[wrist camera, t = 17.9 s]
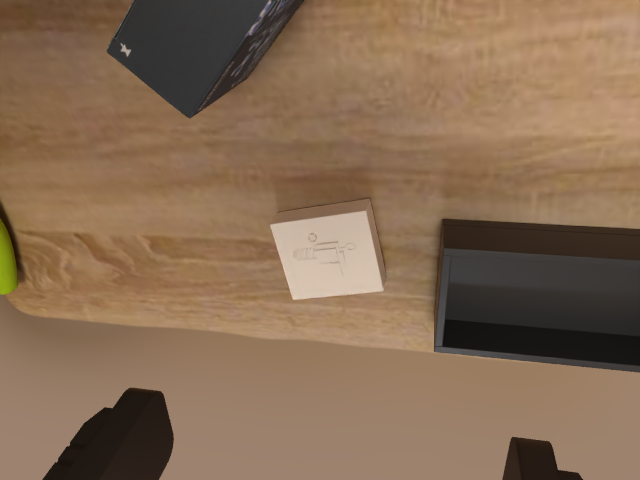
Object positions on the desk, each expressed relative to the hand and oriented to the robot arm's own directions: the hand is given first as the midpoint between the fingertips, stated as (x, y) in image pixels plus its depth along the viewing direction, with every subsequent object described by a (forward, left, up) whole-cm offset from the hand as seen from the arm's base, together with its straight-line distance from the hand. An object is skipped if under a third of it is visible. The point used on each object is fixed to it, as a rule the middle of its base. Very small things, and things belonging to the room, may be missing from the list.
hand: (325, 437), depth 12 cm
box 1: (-12, -4, -28) cm, 31 cm away
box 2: (-1, -10, -28) cm, 30 cm away
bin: (+18, +2, -28) cm, 33 cm away
